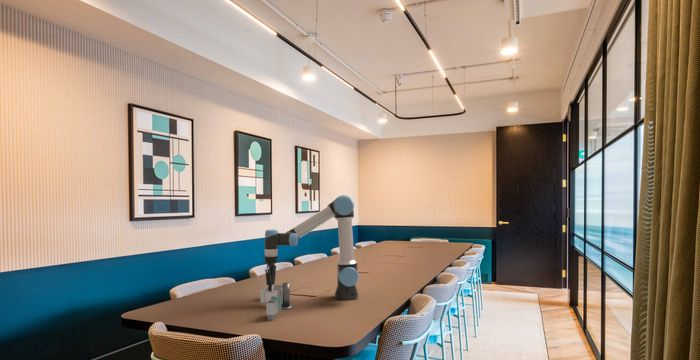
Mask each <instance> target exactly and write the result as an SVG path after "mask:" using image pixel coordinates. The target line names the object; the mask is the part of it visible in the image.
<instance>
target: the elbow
mask: <svg viewBox="0 0 700 360" xmlns="http://www.w3.org/2000/svg"><path fill="white" fill-rule="evenodd" d="M259 295H260V298H259V299H260V300H259V302H260V303H261V304H262V303H263V304H264V303H265V304H266V303H267V302H268V301H270V300H271V297H281V306H282V305H283V289H279V290H278V291H275V290H268V289H263V288H262V289H260V293H259Z"/></svg>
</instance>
